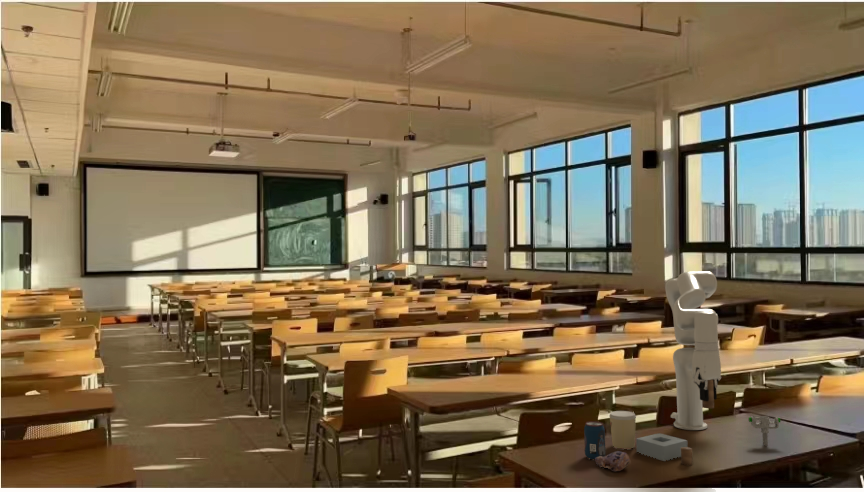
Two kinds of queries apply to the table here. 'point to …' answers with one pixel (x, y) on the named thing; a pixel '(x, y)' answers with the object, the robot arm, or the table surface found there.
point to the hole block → (660, 446)
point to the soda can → (594, 439)
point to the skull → (614, 461)
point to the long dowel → (711, 395)
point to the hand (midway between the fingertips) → (708, 399)
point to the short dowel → (686, 456)
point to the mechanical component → (764, 425)
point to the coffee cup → (623, 429)
